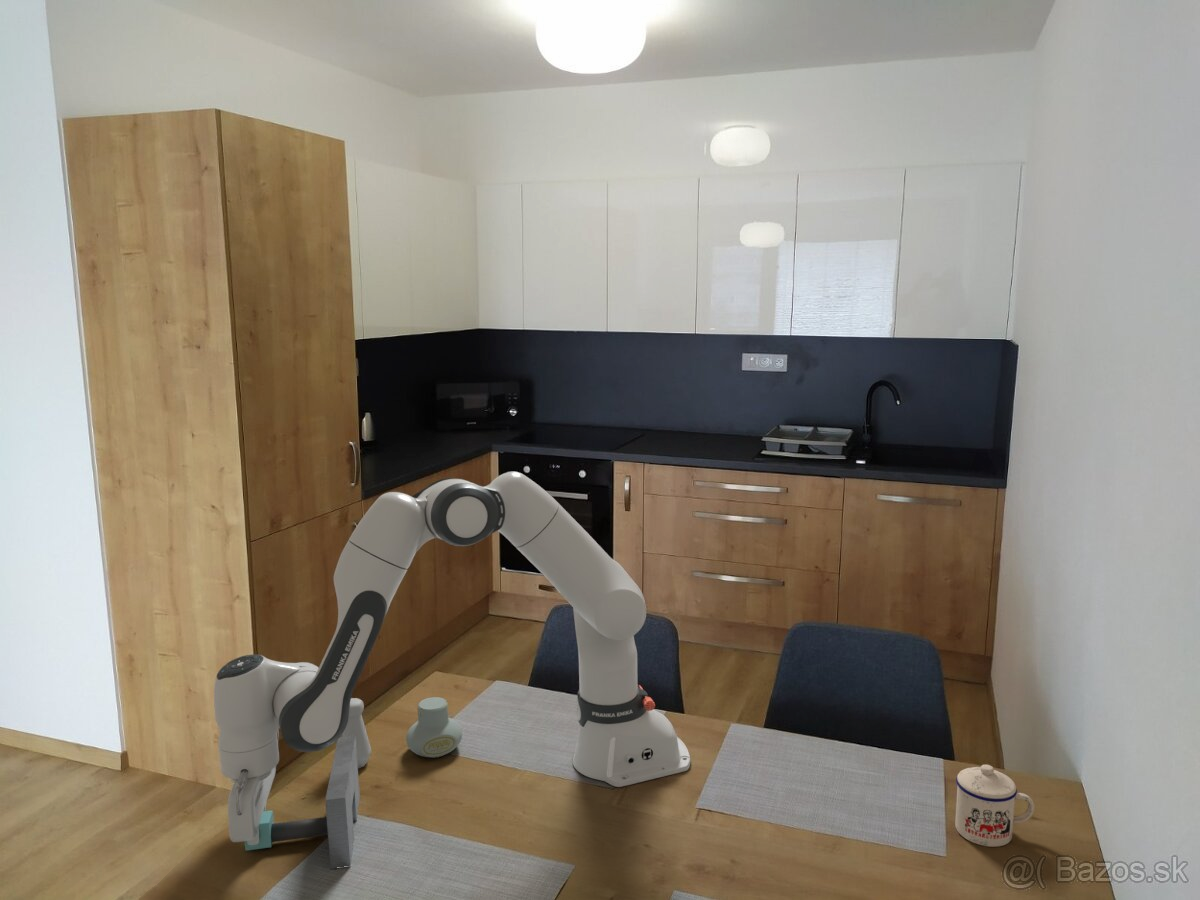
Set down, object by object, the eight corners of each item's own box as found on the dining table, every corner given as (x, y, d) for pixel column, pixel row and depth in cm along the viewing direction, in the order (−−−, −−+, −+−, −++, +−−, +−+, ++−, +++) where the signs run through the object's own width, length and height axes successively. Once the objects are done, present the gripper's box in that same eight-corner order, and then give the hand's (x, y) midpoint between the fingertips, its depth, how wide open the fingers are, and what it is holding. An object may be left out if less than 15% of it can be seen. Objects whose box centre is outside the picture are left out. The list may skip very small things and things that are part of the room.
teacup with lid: (960, 846, 141) (964, 779, 139) (948, 813, 150) (952, 750, 148) (1040, 853, 139) (1045, 786, 137) (1023, 819, 148) (1028, 756, 146)
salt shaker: (376, 756, 172) (372, 694, 170) (365, 772, 166) (361, 708, 164) (347, 755, 172) (342, 694, 170) (335, 771, 167) (331, 707, 165)
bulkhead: (359, 797, 158) (355, 735, 156) (350, 866, 139) (345, 797, 137) (342, 799, 157) (337, 737, 155) (330, 869, 138) (325, 800, 136)
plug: (330, 826, 148) (328, 803, 148) (328, 839, 145) (326, 815, 144) (249, 837, 146) (247, 813, 145) (245, 850, 142) (242, 825, 142)
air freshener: (456, 734, 180) (454, 689, 178) (467, 753, 172) (465, 706, 171) (403, 746, 176) (400, 699, 174) (411, 766, 168) (408, 717, 166)
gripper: (258, 787, 132) (266, 870, 135) (280, 724, 152) (286, 796, 154) (213, 793, 131) (222, 876, 134) (241, 728, 151) (249, 801, 153)
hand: (257, 833), depth 144 cm, fingers closed on plug, 3 cm apart
